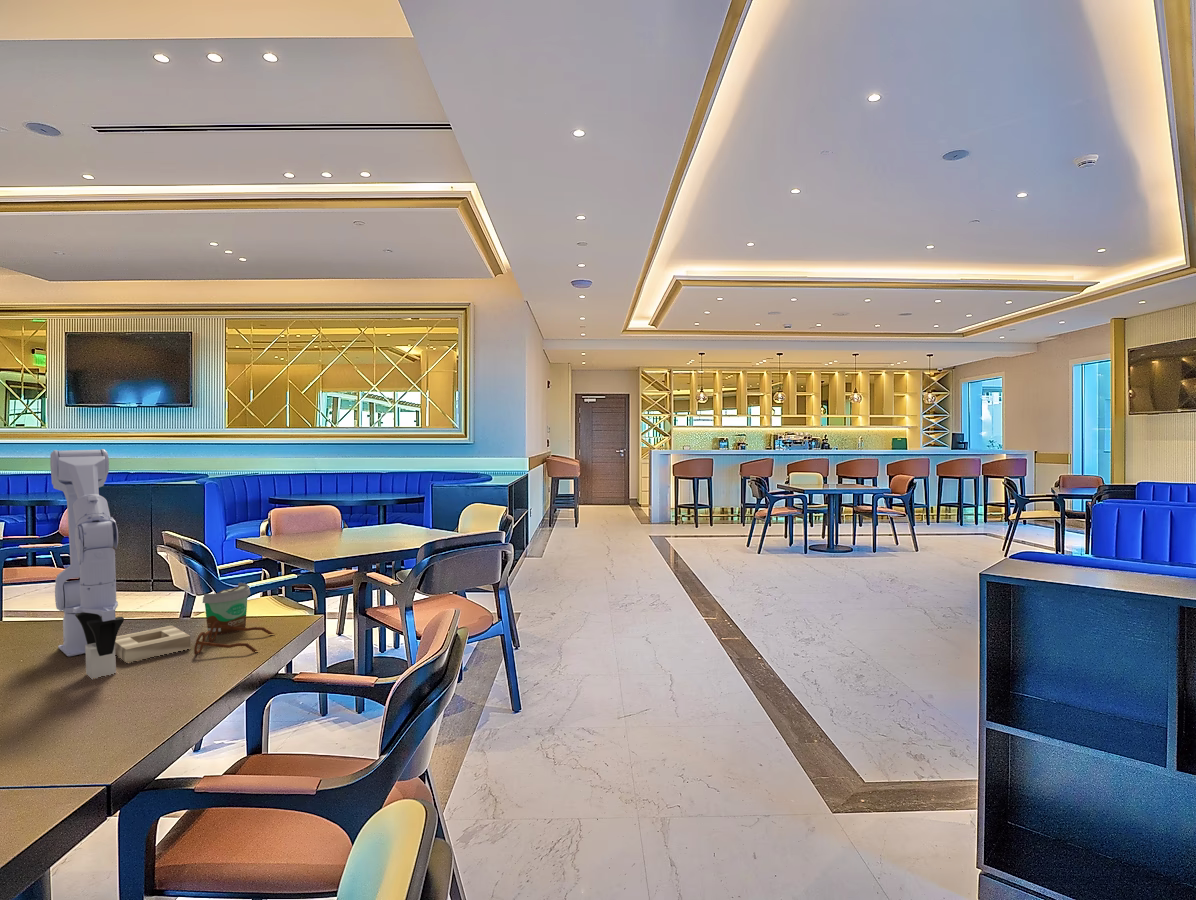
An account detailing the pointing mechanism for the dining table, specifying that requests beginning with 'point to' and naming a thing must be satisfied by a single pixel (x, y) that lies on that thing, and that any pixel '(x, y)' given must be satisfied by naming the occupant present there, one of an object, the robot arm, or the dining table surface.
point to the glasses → (224, 644)
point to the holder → (151, 643)
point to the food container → (227, 608)
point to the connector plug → (99, 662)
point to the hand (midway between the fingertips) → (100, 650)
